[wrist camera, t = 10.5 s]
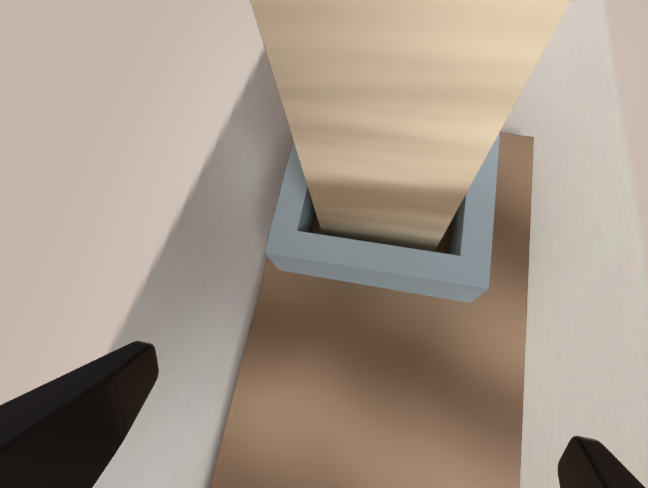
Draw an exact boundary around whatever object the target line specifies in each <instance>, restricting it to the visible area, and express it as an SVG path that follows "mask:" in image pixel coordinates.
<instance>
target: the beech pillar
mask: <svg viewBox="0 0 648 488" xmlns="http://www.w3.org/2000/svg"><path fill="white" fill-rule="evenodd" d="M250 1H251V5H252V8H253V11H254V14H255V18H256V20H257V24H258V27H259V30H260V33H261V37H262V40H263V43H264V47H265V50H266V53H267V56H268V60H269V63H270V66H271V69H272V73H273V76H274V79H275V82H276V85H277V89H278V92H279V95H280V98H281V102H282V105H283V108H284V111H285V115H286V118H287V121H288V124H289V127H290V131H291V134H292V137H293V140H294V144H295V147H296V150H297V153H298V157H299V160H300V163H301V166H302V170H303V173H304V176H305V179H306V182H307V186H308V189H309V192H310V195H311V199H312V202H313V205H314V208H315V212H316V215H317V218H318V221H319V225H320V228H321V231H322V234H323V235H327V236H334V237H340V238H347V239H353V240H360V241H366V242H373V243H379V244H386V245H392V246H399V247H405V248H412V249H418V250H425V251H431V252H435V250H436V248H437V246H438V244H439V242H440V241H441V239H442V237H443V235H444V233H445V231H446V230H447V228H448V226H449V224H450V222H451V220H452V219H453V217H454V215H455V213H456V211H457V209H458V208H459V206H460V204H461V202H462V200H463V198H464V197H465V195H466V193H467V191H468V189H469V187H470V185H471V184H472V182H473V180H474V178H475V176H476V174H477V173H478V171H479V169H480V167H481V165H482V163H483V162H484V160H485V158H486V156H487V154H488V152H489V151H490V149H491V147H492V145H493V143H494V141H495V140H496V138H497V136H498V134H499V132H500V130H501V129H502V127H503V125H504V123H505V121H506V119H507V117H508V116H509V114H510V112H511V110H512V108H513V106H514V105H515V103H516V101H517V99H518V97H519V95H520V94H521V92H522V90H523V88H524V86H525V84H526V83H527V81H528V79H529V77H530V75H531V73H532V72H533V70H534V68H535V66H536V64H537V62H538V61H539V59H540V57H541V55H542V53H543V51H544V49H545V48H546V46H547V44H548V42H549V40H550V38H551V37H552V35H553V33H554V31H555V29H556V27H557V26H558V24H559V22H560V20H561V18H562V16H563V15H564V13H565V11H566V9H567V7H568V5H569V4H570V2H571V0H250Z"/></svg>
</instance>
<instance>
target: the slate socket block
mask: <svg viewBox="0 0 648 488" xmlns="http://www.w3.org/2000/svg"><path fill="white" fill-rule="evenodd" d="M499 139H500V132H499V134H498V136H497V138H496V140H495V141H494V143H493V145H492V147H491V149H490V151H489V152H488V154H487V156H486V158H485V160H484V162H483V163H482V165H481V167H480V169H479V171H478V173H477V174H476V176H475V178H474V180H473V182H472V184H471V185H470V187H469V189H468V191H467V193H466V195H465V197H464V198H463V200H462V202H461V204H460V206H459V208H458V209H457V211H456V213H455V215H454V217H453V219H452V224H451V234H450V243H449V253H448V254H444V253H438V252H431V251H425V250H418V249H412V248H405V247H399V246H392V245H386V244H379V243H373V242H366V241H360V240H353V239H347V238H340V237H334V236H327V235H321V234H314V233H311V231H312V226H313V222H314V217H315V213H316V212H315V208H314V205H313V202H312V199H311V195H310V192H309V189H308V186H307V182H306V179H305V176H304V173H303V170H302V166H301V163H300V160H299V157H298V153H297V150H296V147H295V144H294V140H293V143H292V147H291V151H290V155H289V159H288V163H287V166H286V170H285V174H284V178H283V182H282V186H281V190H280V194H279V198H278V201H277V205H276V209H275V213H274V217H273V221H272V225H271V229H270V232H269V236H268V240H267V244H266V248H265V254H266V255H267V256H268V257H269V258H270V260H271V261H272V262H273V263H274V265H275V266H276V267H277V268H278V269H279V270H281V271H287V272H293V273H299V274H305V275H310V276H316V277H322V278H328V279H334V280H339V281H345V282H351V283H357V284H363V285H369V286H374V287H380V288H386V289H392V290H398V291H403V292H409V293H415V294H421V295H427V296H433V297H438V298H444V299H450V300H456V301H462V302H467V303H470V302H472V301H473V300H475V299H476V298H477V297H479V296H480V295H482V294H483V293H484V292H486V291H487V290H489V280H490V266H491V252H492V238H493V224H494V210H495V196H496V182H497V167H498V153H499Z"/></svg>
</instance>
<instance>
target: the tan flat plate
mask: <svg viewBox="0 0 648 488" xmlns="http://www.w3.org/2000/svg"><path fill="white" fill-rule="evenodd" d="M533 142H534V137H530V136H521V135H511V134H501V133H500V139H499V153H498V167H497V182H496V196H495V210H494V224H493V238H492V252H491V266H490V280H489V290H487V291H486V292H484V293H483V294H482V295H480V296H479V297H477V298H476V299H475V300H473V301H472V302H470V303H467V302H462V301H456V300H450V299H444V298H438V297H433V296H427V295H421V294H415V293H409V292H403V291H398V290H392V289H386V288H380V287H374V286H369V285H363V284H357V283H351V282H345V281H339V280H334V279H328V278H322V277H316V276H310V275H305V274H299V273H293V272H287V271H281V270H279V269H278V268H277V267H276V266H275V265H274V263H273V262H272V261H271V260H270V258H269V257H268V260H267V264H266V268H265V272H264V276H263V280H262V284H261V288H260V292H259V296H258V300H257V304H256V308H255V312H254V316H253V320H252V323H251V327H250V331H249V335H248V339H247V343H246V347H245V351H244V355H243V359H242V363H241V367H240V371H239V375H238V379H237V383H236V387H235V391H234V395H233V398H232V402H231V406H230V410H229V414H228V418H227V422H226V426H225V430H224V434H223V438H222V442H221V446H220V450H219V454H218V458H217V462H216V466H215V470H214V474H213V477H212V481H211V485H210V488H520V467H521V442H522V417H523V392H524V367H525V342H526V317H527V292H528V267H529V242H530V217H531V192H532V167H533ZM451 224H452V220H451V222H450V224H449V226H448V228H447V230H446V231H445V233H444V235H443V237H442V239H441V241H440V242H439V244H438V246H437V248H436V250H435V252H438V253H444V254H448V253H449V243H450V234H451ZM311 233H314V234H321V235H323V234H322V231H321V228H320V225H319V221H318V218H317V215H316V213H315V217H314V222H313V226H312V231H311Z"/></svg>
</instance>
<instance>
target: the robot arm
mask: <svg viewBox="0 0 648 488" xmlns="http://www.w3.org/2000/svg"><path fill="white" fill-rule="evenodd" d="M158 373H159V368H158V362H157V356H156V350H155V347H154V346H153V344H150V343H146V342H141V341H135V342H132V343H130V344H128V345H126V346H124V347H122V348H120V349H117V350H115V351H113V352H111V353H109V354H107V355H105V356H103V357H101V358H99V359H97V360H94V361H92V362H90V363H88V364H86V365H84V366H82V367H80V368H78V369H76V370H73V371H71V372H69V373H67V374H65V375H63V376H61V377H59V378H57V379H55V380H52V381H50V382H48V383H46V384H44V385H42V386H40V387H38V388H36V389H33V390H32V391H30V392H27V393H25V394H23V395H21V396H19V397H17V398H15V399H13V400H10V401H9V402H6V403H4V404H2V405H0V488H92V487H93V486H94V484H95V483H96V481H97V480H98V478H99V477H100V475H101V474H102V472H103V471H104V469H105V468H106V466H107V465H108V463H109V462H110V460H111V459H112V457H113V456H114V455H115V453H116V451H117V450H118V448H119V447H120V445H121V444H122V442H123V440H124V439H125V437H126V435H127V434H128V432H129V430H130V428H131V426H132V424H133V423H134V421H135V419H136V417H137V415H138V413H139V412H140V410H141V408H142V406H143V404H144V402H145V401H146V399H147V397H148V395H149V393H150V391H151V390H152V388H153V386H154V384H155V382H156V380H157V377H158ZM558 477H559V483H560V488H645V487H644V486H643V485H642V484H641V483H640V482H639V481H638V480H637V479H636V478H635V477H634V476H633V475H632V474H631V473H630V472H629V471H628V470H627V469H626V467H625V466H624V465H623V464H622V463H621V462H620V461H619V460H618V459H617V458H616V457H615V456H614V455H613V454H612V453H611V452H610V451H609V450H608V449H607V448H606V447H605V446H604V445H603V444H602V443H600V442H599V441H597V440H595V439H591V438H586V437H581V436H574V437H572V438H571V440H570V442H569V443H568V445H567V447H566V449H565V451H564V453H563V455H562V457H561V458H560V461H559V464H558Z"/></svg>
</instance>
